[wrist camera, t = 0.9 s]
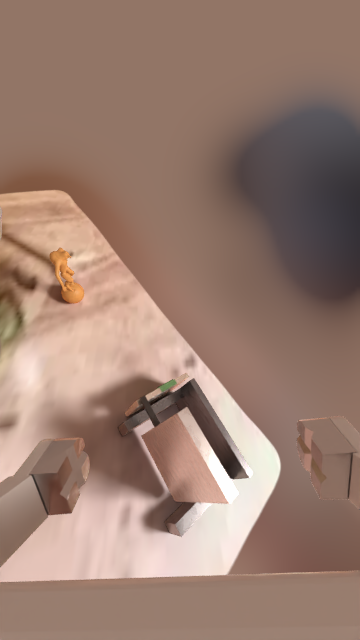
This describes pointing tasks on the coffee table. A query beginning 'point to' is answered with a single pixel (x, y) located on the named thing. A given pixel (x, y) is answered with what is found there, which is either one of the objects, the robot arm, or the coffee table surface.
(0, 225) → the teacup
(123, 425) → the gauge housing
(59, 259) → the figurine
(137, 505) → the coffee table surface
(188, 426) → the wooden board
